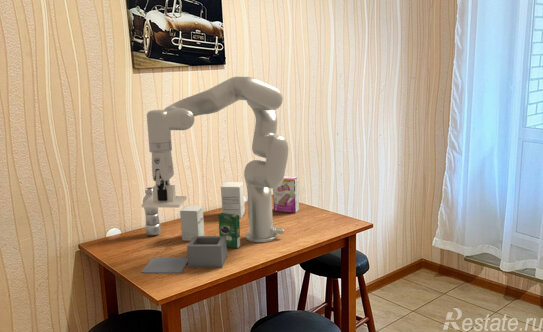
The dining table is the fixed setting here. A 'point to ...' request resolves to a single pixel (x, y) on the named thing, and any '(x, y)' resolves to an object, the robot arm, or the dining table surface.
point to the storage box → (207, 252)
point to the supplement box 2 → (233, 198)
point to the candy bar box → (287, 195)
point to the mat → (166, 265)
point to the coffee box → (230, 229)
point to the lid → (171, 199)
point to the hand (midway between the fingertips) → (164, 198)
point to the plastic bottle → (151, 215)
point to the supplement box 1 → (192, 222)
